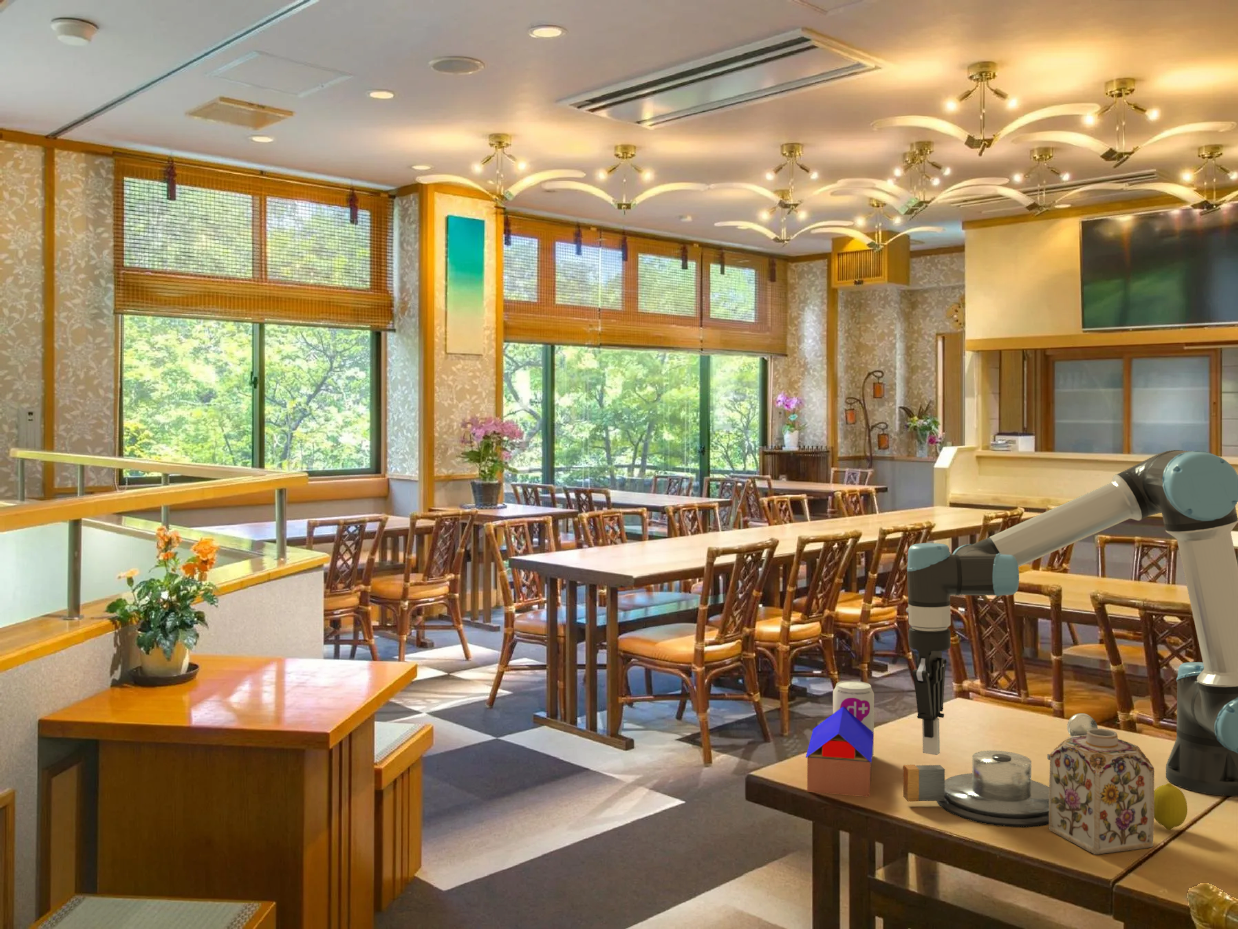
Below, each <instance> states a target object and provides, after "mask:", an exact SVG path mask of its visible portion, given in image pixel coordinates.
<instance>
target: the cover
mask: <svg viewBox="0 0 1238 929" xmlns="http://www.w3.org/2000/svg"><path fill="white" fill-rule="evenodd" d="M971 758H972V760H971V761H972V762H971V764H972V765H971V766H972V767H971V768H972V769H971V773H972V790H973V792H974V793H976V794H977V795H979V796H982V797H984V798H988V799H992V800H997V801H1008V802H1014V801H1023V800H1026V799H1029V798H1030V797H1031V780H1032V760H1031V758H1029V757H1027V756H1025V755H1023V754H1019V753H1016V752H1011V751H1007V750H1006V751H1004V750H983V751H982V750H981V751H976V752H975V753H973V754H972V757H971Z"/></svg>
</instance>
